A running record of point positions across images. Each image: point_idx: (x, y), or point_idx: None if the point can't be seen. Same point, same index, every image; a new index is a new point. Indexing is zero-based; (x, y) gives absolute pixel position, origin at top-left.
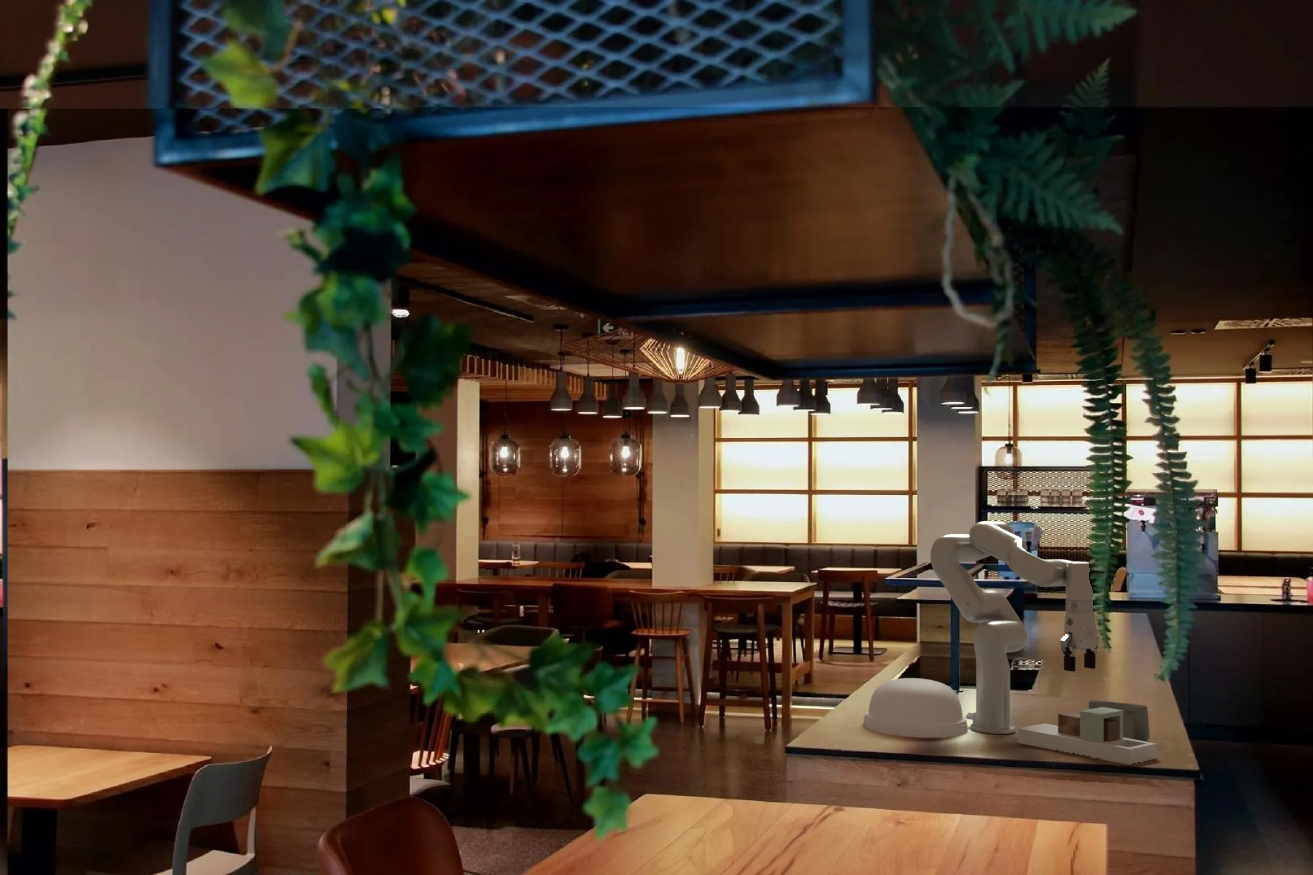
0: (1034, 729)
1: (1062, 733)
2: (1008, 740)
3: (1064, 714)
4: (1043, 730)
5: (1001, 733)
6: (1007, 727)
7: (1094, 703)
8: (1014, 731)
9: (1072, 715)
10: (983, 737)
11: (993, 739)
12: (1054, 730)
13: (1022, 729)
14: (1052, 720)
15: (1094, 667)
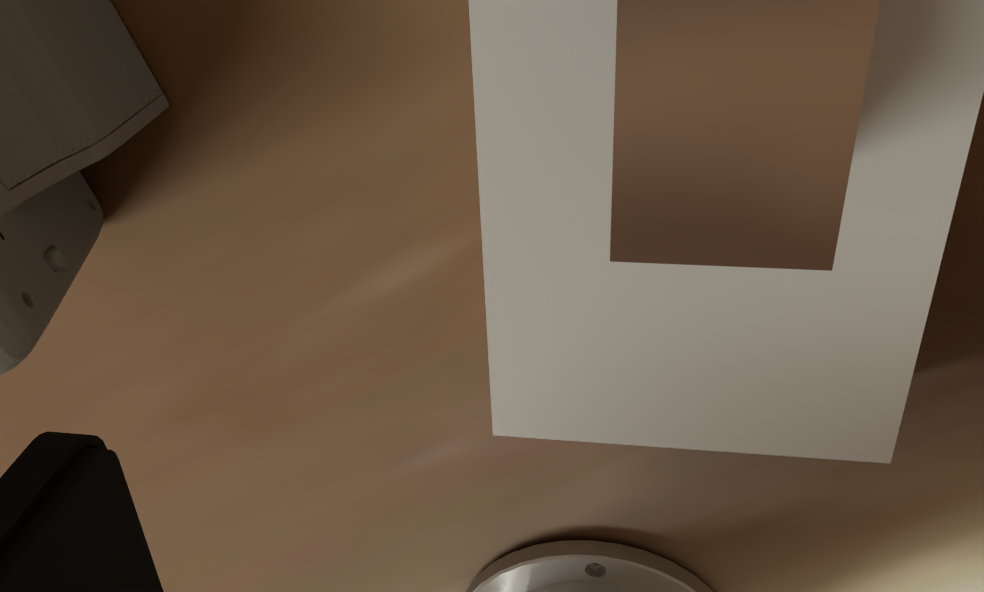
0: (830, 366)
1: None
2: None
3: (792, 217)
4: (811, 303)
5: (674, 564)
6: (583, 588)
7: (1, 308)
8: (546, 544)
9: (779, 127)
10: (868, 582)
11: (883, 524)
12: None
13: (898, 425)
14: None
15: (73, 444)
